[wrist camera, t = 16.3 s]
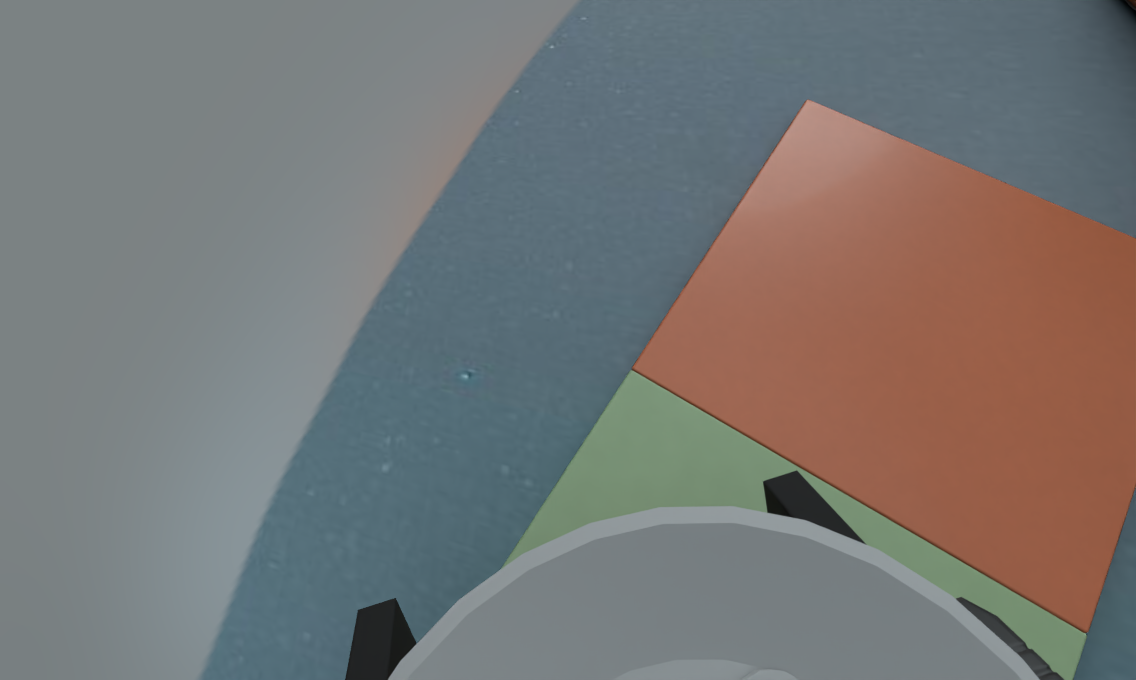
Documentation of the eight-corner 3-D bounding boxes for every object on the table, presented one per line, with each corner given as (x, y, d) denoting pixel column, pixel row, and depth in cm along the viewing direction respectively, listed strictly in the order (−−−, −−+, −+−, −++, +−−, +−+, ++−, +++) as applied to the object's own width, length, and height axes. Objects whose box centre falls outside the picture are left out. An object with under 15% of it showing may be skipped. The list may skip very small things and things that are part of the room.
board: (875, 1181, 13) (897, 1226, 12) (383, 759, 16) (370, 769, 15) (1180, 283, 20) (1208, 267, 19) (798, 117, 23) (807, 97, 22)
